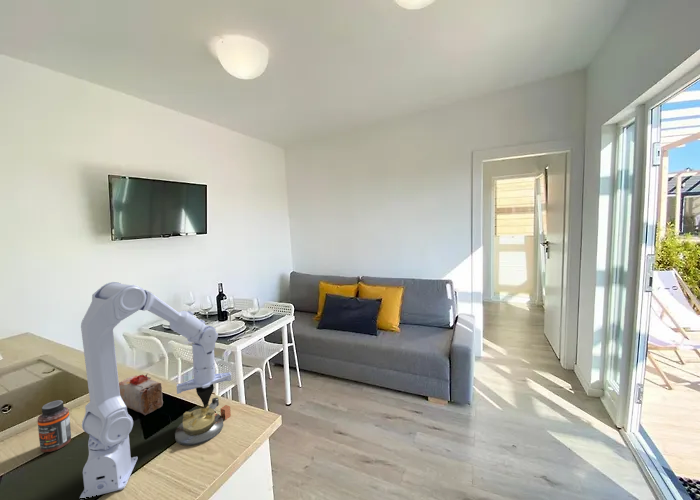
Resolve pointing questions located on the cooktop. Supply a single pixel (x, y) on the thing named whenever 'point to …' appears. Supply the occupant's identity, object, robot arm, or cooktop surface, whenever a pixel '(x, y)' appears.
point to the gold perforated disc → (200, 419)
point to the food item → (141, 394)
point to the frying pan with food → (205, 436)
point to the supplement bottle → (54, 426)
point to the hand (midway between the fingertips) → (206, 409)
